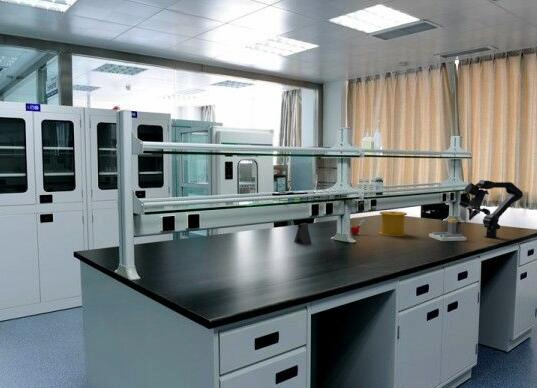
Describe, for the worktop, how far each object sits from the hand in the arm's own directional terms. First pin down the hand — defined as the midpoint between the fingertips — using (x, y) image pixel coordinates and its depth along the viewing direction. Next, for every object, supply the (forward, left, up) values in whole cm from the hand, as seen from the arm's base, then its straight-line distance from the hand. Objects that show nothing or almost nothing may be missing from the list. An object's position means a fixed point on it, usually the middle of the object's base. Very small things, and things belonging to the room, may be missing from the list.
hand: (469, 220), depth 287 cm
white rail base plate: (+14, -6, -12) cm, 19 cm away
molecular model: (+59, -45, -12) cm, 75 cm away
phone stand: (+107, -37, -12) cm, 113 cm away
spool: (+34, -35, -12) cm, 50 cm away
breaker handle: (+11, -5, -10) cm, 15 cm away
